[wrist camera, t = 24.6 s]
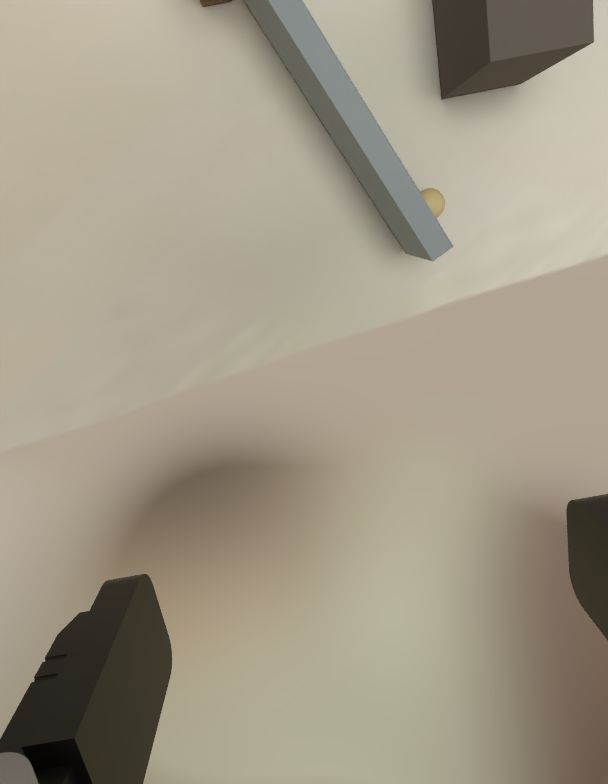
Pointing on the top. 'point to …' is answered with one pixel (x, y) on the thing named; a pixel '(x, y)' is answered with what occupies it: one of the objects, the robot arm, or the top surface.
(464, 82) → the block
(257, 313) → the top surface
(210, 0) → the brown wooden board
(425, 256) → the door
